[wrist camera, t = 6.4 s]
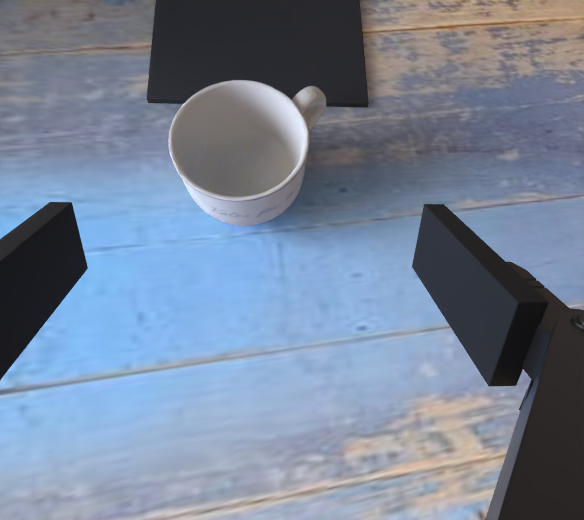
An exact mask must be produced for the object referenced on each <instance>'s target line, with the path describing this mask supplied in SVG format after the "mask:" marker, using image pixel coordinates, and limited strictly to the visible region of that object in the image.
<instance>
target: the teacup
mask: <svg viewBox="0 0 584 520" xmlns="http://www.w3.org/2000/svg"><path fill="white" fill-rule="evenodd" d="M325 107H326V97H325V95H324V93H323V92H322V91H321V90H320V89H319V88H317V87H315V86H309V87H306V88H304V89H302V90H301V91H300V92H299V93H297V94H296V95H295V97H294V98H293V99H292V100H291V99H290V98H289V97H287V96H286V95H285V94H283V93H282V92H280V91H278V90H276V89H274V88H273V87H271V86H269V85H266V84H263V83H260V82H255V81H248V80H233V81H226V82H221V83H218V84H214V85H211V86H208V87H206V88H204V89H202V90H201V91H199V92H197V93H196V94H194V95H193V96H191V97H190V98H189V99H188V100H187V101H186V102H185V103H184V104H183V105H182V106H181V108H180V109H179V111H178V112H177V114H176V115H175V117H174V119H173V121H172V124H171V127H170V132H169V152H170V155H171V159H172V162H173V164H174V166H175V168H176V170H177V172H178V173H179V175H180V176H181V178H182V179H183V181H184V183H185V185H186V187H187V189H188V191H189V193H190V194H191V196H192V197H193V199H194V200H195V202H196V203H197V204H198V205H199V206H200V207H201V208H202V209H203V210H204V211H205V212H206V213H207V214H209V215H210V216H212V217H213V218H215V219H217V220H219V221H222V222H224V223H227V224H232V225H238V226H250V225H257V224H261V223H264V222H267V221H270V220H272V219H274V218H275V217H277V216H279V215H280V214H281V213H283V212H284V211H285V210H286V209H287V208H288V207H289V206H290V205H291V204H292V202H293V201H294V200H295V198H296V197H297V195H298V192H299V190H300V188H301V185H302V182H303V177H304V172H305V165H306V158H307V154H308V150H309V130H310V129H311V128H312V127H313V126H314V125H315V124H316V122H317V121H318V120H319V119H320V117H321V116H322V114H323V112H324V110H325Z"/></svg>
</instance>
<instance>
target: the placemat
mask: <svg viewBox="0 0 584 520" xmlns="http://www.w3.org/2000/svg"><path fill="white" fill-rule="evenodd" d="M233 80H248V81H255V82H260V83H263V84H266V85H269V86H271V87H273V88H274V89H276V90H278V91H280V92H282V93H283V94H285V95H286V96H287V97H289V98H290V99H291V100H292V99H293V98H294V97H295V95H296V94H297V93H299V92H300V91H301V90H302V89H304V88H306V87H309V86H315V87H317V88H319V89H320V90H321V91H322V92H323V93H324V95H325V97H326V106H337V107H367V106H368V104H369V103H368V91H367V80H366V69H365V57H364V46H363V35H362V23H361V12H360V1H359V0H156V6H155V16H154V27H153V38H152V49H151V59H150V70H149V81H148V92H147V100H148V102H149V103H185V102H186V101H187V100H188V99H189V98H190V97H191V96H193V95H194V94H196V93H197V92H199V91H201V90H202V89H204V88H206V87H208V86H211V85H214V84H218V83H221V82H226V81H233Z"/></svg>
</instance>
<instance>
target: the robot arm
mask: <svg viewBox="0 0 584 520" xmlns="http://www.w3.org/2000/svg"><path fill="white" fill-rule="evenodd" d="M412 267H413V269H414V270H415V272H416V274H417V275H418V277H419V278H420V280H421V281H422V283H423V285H424V286H425V288H426V289H427V291H428V292H429V294H430V295H431V297H432V299H433V300H434V302H435V303H436V305H437V306H438V308H439V309H440V311H441V313H442V314H443V316H444V317H445V319H446V320H447V322H448V323H449V325H450V327H451V328H452V330H453V331H454V333H455V334H456V336H457V337H458V339H459V341H460V342H461V344H462V345H463V347H464V348H465V350H466V351H467V353H468V355H469V356H470V358H471V359H472V361H473V362H474V364H475V365H476V367H477V369H478V370H479V372H480V373H481V375H482V376H483V378H484V379H485V381H486V383H487V384H488V386H516V385H517V382H518V379H519V377H520V374H521V372H522V369H524V370H525V372H526V373H527V374H528V375H529V377H530V378H531V379H532V380H531V382H530V384H529V387H528V389H527V392H526V394H525V396H524V399H523V401H522V404H521V406H520V408H519V410H521V411H520V414H519V417H518V420H517V423H516V426H515V429H514V432H513V436H512V439H511V442H510V445H509V448H508V451H507V454H506V457H505V460H504V463H503V467H502V470H501V473H500V476H499V479H498V482H497V485H496V488H495V491H494V494H493V498H492V501H491V504H490V507H489V510H488V513H487V516H486V519H485V520H584V310H580V309H569V308H568V307H567V306H566V305H565V304H564V303H563V302H562V301H560V300H559V299H558V298H557V297H556V296H555V295H554V294H553V293H551V292H550V291H549V290H548V289H547V288H544V285H542V284H541V283H540V282H539V281H536V278H534V277H533V276H532V275H531V274H530V273H529V272H528V271H527V270H525V269H523V268H521V267H520V266H518V265H516V264H514V263H512V262H505V261H504V260H503V259H502V258H501V257H500V256H499V255H498V254H497V253H496V252H494V251H493V250H492V249H491V248H490V247H489V246H488V245H487V244H486V243H485V242H484V241H483V240H481V239H480V238H479V237H478V236H477V235H476V234H475V233H474V232H473V231H472V230H471V229H470V228H469V227H467V226H466V225H465V224H464V223H463V222H462V221H461V220H460V219H459V218H458V217H457V216H456V215H455V214H453V213H452V212H451V211H450V210H449V209H448V208H447V207H446V206H445V205H444V204H424V208H423V213H422V218H421V223H420V228H419V234H418V239H417V244H416V249H415V254H414V260H413V265H412ZM87 269H88V267H87V263H86V259H85V255H84V251H83V247H82V243H81V239H80V234H79V230H78V226H77V222H76V218H75V214H74V210H73V206H72V202H50V203H48V204H47V205H46V206H44V207H43V208H42V209H40V210H39V211H38V212H36V213H35V214H34V215H32V216H31V217H30V218H28V219H27V220H26V221H24V222H23V223H21V224H20V225H19V226H17V227H16V228H15V229H13V230H12V231H11V232H9V233H8V234H7V235H5V236H4V237H3V238H1V239H0V380H1V378H2V377H3V376H4V374H5V373H6V372H7V371H8V369H9V368H10V367H11V366H12V364H13V363H14V362H15V360H16V359H17V358H18V357H19V355H20V354H21V353H22V352H23V350H24V349H25V348H26V346H27V345H28V344H29V343H30V341H31V340H32V339H33V337H34V336H35V335H36V334H37V332H38V331H39V330H40V329H41V327H42V326H43V325H44V323H45V322H46V321H47V320H48V318H49V317H50V316H51V315H52V313H53V312H54V311H55V309H56V308H57V307H58V306H59V304H60V303H61V302H62V300H63V299H64V298H65V297H66V295H67V294H68V293H69V292H70V290H71V289H72V288H73V286H74V285H75V284H76V283H77V281H78V280H79V279H80V278H81V276H82V275H83V274H84V272H85V271H86V270H87Z"/></svg>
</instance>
